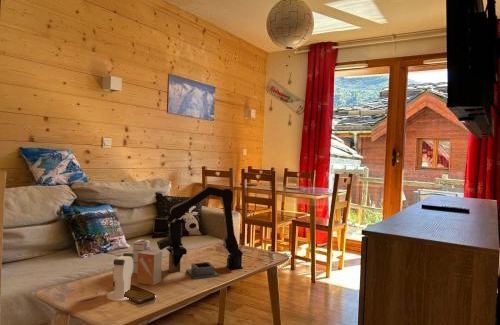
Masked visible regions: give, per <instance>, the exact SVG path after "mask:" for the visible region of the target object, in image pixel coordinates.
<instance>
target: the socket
mask: <svg viewBox="0 0 500 325" xmlns="http://www.w3.org/2000/svg"><path fill="white" fill-rule="evenodd" d="M190 265H191V268H189V269H188V268H187V269H186V273H187V274H188V275H189V276H190V277H191V278H192V279H193V280H198V279H209V278H216V277H217V278H218V277H220V274H219V273H218V272H217V271H215V266H214V265H213V264H211V263H210V262H209V261H205V262H203V261H202V262H196V263H195V262H194V263H191V264H190Z"/></svg>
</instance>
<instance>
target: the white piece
mask: <svg viewBox="0 0 500 325" xmlns="http://www.w3.org/2000/svg"><path fill="white" fill-rule="evenodd" d="M133 257H134V256H133V252H131V253H130V252H127V253H126V252H124V253H123V254H122V255H121V256H120V255H119V257H117V258H115V259H114V260H113V270H112V277H113V283H112V286H113V288H114V290H113V291H110V292H108V293H106V294H107V295H106V298H107V299H108V300H110V301H115V302H124V301H129V298H127V297H124V294H125V292H127V291H128V290H130V289H131V280H132V276H133Z"/></svg>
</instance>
